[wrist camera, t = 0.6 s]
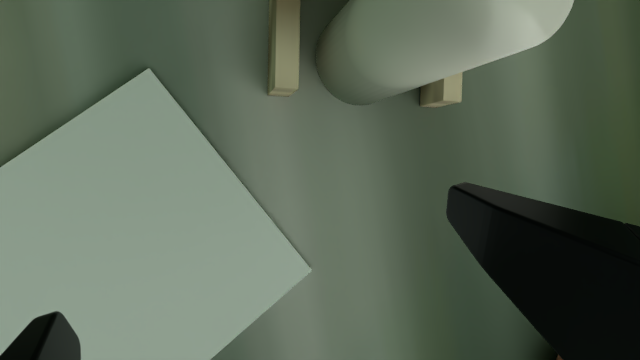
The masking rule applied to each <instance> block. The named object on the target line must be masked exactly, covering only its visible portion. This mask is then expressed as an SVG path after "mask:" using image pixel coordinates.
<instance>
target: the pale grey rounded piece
mask: <svg viewBox="0 0 640 360" xmlns="http://www.w3.org/2000/svg"><path fill="white" fill-rule="evenodd" d="M573 2H574V0H350V1H349V2H348V3H347V4H346V5H345V6H344V7H343V9H342V10H341V11H340V12H339V13H338V14H337V15H336V16H335V18H334V19H333V20H332V21H331V22H330V23H329V24H328V25H327V26H326V28H325V29H324V30H323V32H322V33H321V35H320V37H319V40H318V43H317V47H316V55H315V56H316V66H317V70H318V74H319V76H320V78H321V80H322V82H323V84H324V85H325V87H326V88H327V89H328V90H329V92H330V93H331V94H333V95H334V96H335V97H336V98H338V99H340V100H341V101H343V102H346V103H349V104H352V105H368V104H371V103H375V102H377V101H380V100H383V99H386V98H389V97H392V96H395V95H398V94H400V93H403V92H406V91H409V90H412V89H415V88H418V87H420V86H423V85H426V84H429V83H432V82H435V81H438V80H440V79H443V78H446V77H449V76H452V75H455V74H458V73H460V72H463V71H466V70H469V69H472V68H475V67H478V66H481V65H483V64H486V63H489V62H492V61H495V60H498V59H501V58H503V57H506V56H509V55H512V54H515V53H518V52H521V51H523V50H526V49H529V48H532V47H535V46H537V45H539V44H541V43H543V42H544V41H546V40H547V39H549V38H550V37H551V36H552V35H553V34H554V33H555V32H556V31H557V30H558V29H559V28H560V26H561V25H562V24H563V23H564V21H565V19H566V18H567V16H568V14H569V12H570V10H571V7H572V5H573Z"/></svg>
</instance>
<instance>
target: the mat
mask: <svg viewBox="0 0 640 360" xmlns="http://www.w3.org/2000/svg"><path fill="white" fill-rule="evenodd" d="M311 271H312V270H311V268H310V267H309V266H308V265H307V263H306V262H305V261H304V260H303V258H302V257H301V256H300V255H299V253H298V252H297V251H296V250H295V249H294V247H293V246H292V245H291V244H290V242H289V241H288V240H287V239H286V237H285V236H284V235H283V234H282V232H281V231H280V230H279V229H278V227H277V226H276V225H275V224H274V222H273V221H272V220H271V219H270V218H269V216H268V215H267V214H266V213H265V211H264V210H263V209H262V208H261V206H260V205H259V204H258V203H257V201H256V200H255V199H254V198H253V196H252V195H251V194H250V193H249V191H248V190H247V189H246V188H245V187H244V185H243V184H242V183H241V182H240V180H239V179H238V178H237V177H236V175H235V174H234V173H233V172H232V170H231V169H230V168H229V167H228V165H227V164H226V163H225V162H224V160H223V159H222V158H221V157H220V156H219V154H218V153H217V152H216V151H215V149H214V148H213V147H212V146H211V144H210V143H209V142H208V141H207V139H206V138H205V137H204V136H203V134H202V133H201V132H200V131H199V129H198V128H197V127H196V126H195V125H194V123H193V122H192V121H191V120H190V118H189V117H188V116H187V115H186V113H185V112H184V111H183V110H182V108H181V107H180V106H179V105H178V103H177V102H176V101H175V100H174V98H173V97H172V96H171V95H170V94H169V92H168V91H167V90H166V89H165V87H164V86H163V85H162V84H161V82H160V81H159V80H158V79H157V77H156V76H155V75H154V74H153V72H152V71H151V70H150V69H149V68H148V69H147V70H145V71H144V72H142V73H141V74H139V75H138V76H136V77H135V78H133V79H132V80H130V81H129V82H127V83H126V84H124V85H123V86H121V87H120V88H118V89H117V90H115V91H114V92H112V93H111V94H109V95H108V96H106V97H105V98H103V99H102V100H100V101H99V102H97V103H96V104H94V105H93V106H92V107H90V108H89V109H87V110H86V111H84V112H83V113H81V114H80V115H78V116H77V117H75V118H74V119H72V120H71V121H69V122H68V123H66V124H65V125H63V126H62V127H60V128H59V129H57V130H56V131H54V132H53V133H51V134H50V135H48V136H47V137H45V138H44V139H42V140H41V141H39V142H38V143H36V144H35V145H33V146H32V147H30V148H29V149H27V150H26V151H24V152H23V153H21V154H20V155H18V156H17V157H15V158H14V159H12V160H11V161H9V162H8V163H6V164H5V165H3V166H2V167H0V355H1V354H2V353H3V352H4V351H5V350H6V349H7V347H8V346H9V345H10V344H11V343H12V342H13V341H14V340H15V339H16V337H17V336H18V335H19V334H20V333H21V332H22V331H23V330H24V329H25V327H26V326H27V325H28V324H29V323H30V322H31V321H32V320H33V319H34V318H36V317H38V316H41V315H45V314H48V313H51V312H54V311H59V312H61V313H62V314H63V315H64V316H65V318H66V319H67V321H68V322H69V324H70V325H71V327H72V328H73V330H74V331H75V333H76V334H77V336H78V338H79V341H80V345H81V360H210V359H211V358H213V357H214V356H215V355H216V354H217V353H218V352H219V351H221V350H222V349H223V348H224V347H225V346H226V345H227V344H229V343H230V342H231V341H232V340H233V339H234V338H235V337H237V336H238V335H239V334H240V333H241V332H242V331H243V330H245V329H246V328H247V327H248V326H249V325H250V324H251V323H253V322H254V321H255V320H256V319H257V318H258V317H259V316H261V315H262V314H263V313H264V312H265V311H266V310H267V309H269V308H270V307H271V306H272V305H273V304H274V303H275V302H277V301H278V300H279V299H280V298H281V297H282V296H283V295H285V294H286V293H287V292H288V291H289V290H290V289H291V288H293V287H294V286H295V285H296V284H297V283H298V282H299V281H301V280H302V279H303V278H304V277H305V276H306V275H307V274H309V273H310V272H311Z"/></svg>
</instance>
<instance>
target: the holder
mask: <svg viewBox="0 0 640 360" xmlns="http://www.w3.org/2000/svg"><path fill="white" fill-rule="evenodd" d="M299 42H300V0H269V39H268V95H270V96H283V97H289V96H290V95H292V94H293V93H294V92H295V91H297V90H298V89H299ZM461 96H462V72H460V73H458V74H455V75H452V76H449V77H446V78H443V79H440V80H438V81H435V82H432V83H429V84H426V85H423V86H421V94H420V106H422V107H436V108H437V107H441V106H445V105H450V104H454V103H458V102H461Z"/></svg>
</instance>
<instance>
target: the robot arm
mask: <svg viewBox="0 0 640 360" xmlns="http://www.w3.org/2000/svg"><path fill="white" fill-rule="evenodd" d="M446 214H447V218H448V220H449V222H450V224H451V225H452V226H453V228H454V229H455V231H456V232H457V233H458V235H459V236H460V238H461V239H462V240H463V242H464V243H465V245H466V246H467V247H468V249H469V250H470V252H471V253H472V254H473V256H474V257H475V259H476V260H477V261H478V263H479V264H480V265H481V267H482V268H483V269H484V270H485V271H486V273H487V274H488V275H489V276H490V277H491V278H492V280H493V281H494V282H495V283H496V284H497V285H498V286H499V288H500V289H501V290H502V291H503V292H504V293H505V294H506V296H507V297H508V298H509V299H510V300H511V301H512V302H513V303H514V305H515V306H516V307H517V308H518V309H519V310H520V311H521V313H522V314H523V315H524V316H525V317H526V318H527V319H528V321H529V322H530V323H531V324H532V325H533V326H534V327H535V329H536V330H537V331H538V332H539V333H540V334H541V335H542V337H543V338H544V339H545V340H546V341H547V342H548V343H549V345H550V346H551V347H552V348H553V349H554V350H555V351H556V353H557V354H558V355H559V356H560V357H561V358H562V359H563V360H640V226H636V225H632V224H628V223H625V224H623V223H622V222H620V221H616V220H612V219H608V218H604V217H600V216H596V215H592V214H588V213H585V212H581V211H577V210H573V209H569V208H565V207H561V206H557V205H553V204H549V203H545V202H541V201H537V200H533V199H530V198H526V197H522V196H518V195H514V194H510V193H506V192H502V191H498V190H494V189H490V188H486V187H482V186H478V185H475V184H471V183H466V182H464V183H460V184H457V185H453V186H451V187H450V189H449V191H448V200H447V209H446ZM0 360H81V345H80V341H79V338H78V336H77V334H76V333H75V331H74V330H73V328H72V327H71V325H70V324H69V322H68V321H67V319H66V318H65V316H64V315H63V314H62V313H61V312H59V311H54V312H51V313H48V314H45V315H41V316H38V317H36V318H34V319H33V320H32V321H31V322H30V323H29V324H28V325H27V326H26V327H25V329H24V330H23V331H22V332H21V333H20V334H19V335H18V336H17V337H16V339H15V340H14V341H13V342H12V343H11V344H10V345H9V346H8V347H7V349H6V350H5V351H4V352H3V353H2V354H1V355H0Z"/></svg>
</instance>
